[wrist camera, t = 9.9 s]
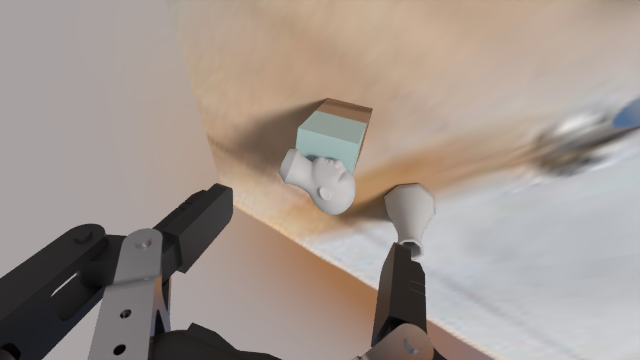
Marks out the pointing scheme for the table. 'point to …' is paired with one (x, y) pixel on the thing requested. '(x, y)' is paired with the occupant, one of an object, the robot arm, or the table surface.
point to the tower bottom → (347, 113)
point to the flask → (410, 214)
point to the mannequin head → (320, 180)
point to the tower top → (331, 138)
